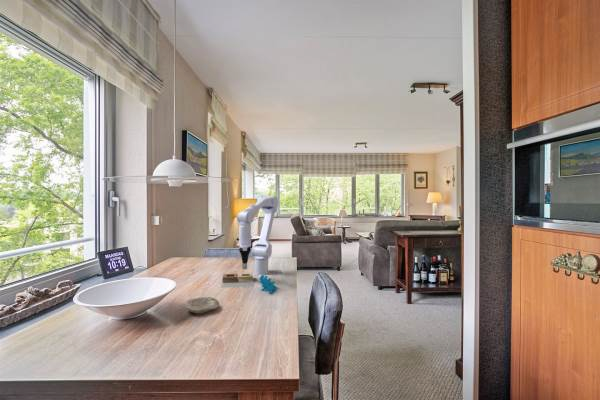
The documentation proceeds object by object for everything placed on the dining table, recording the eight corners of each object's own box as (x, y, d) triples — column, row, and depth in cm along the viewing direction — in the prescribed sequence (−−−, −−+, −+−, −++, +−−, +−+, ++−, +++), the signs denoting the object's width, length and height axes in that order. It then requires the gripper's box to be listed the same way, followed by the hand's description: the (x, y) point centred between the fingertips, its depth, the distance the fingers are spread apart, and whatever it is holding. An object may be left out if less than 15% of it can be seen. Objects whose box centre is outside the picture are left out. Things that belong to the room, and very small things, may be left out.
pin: (242, 268, 150) (242, 252, 150) (246, 268, 150) (246, 252, 150) (242, 269, 147) (242, 253, 147) (247, 269, 148) (247, 253, 148)
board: (223, 279, 153) (223, 278, 153) (253, 278, 156) (253, 277, 156) (221, 289, 137) (221, 287, 137) (254, 287, 140) (254, 286, 140)
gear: (270, 293, 126) (257, 274, 130) (261, 302, 127) (248, 283, 131) (282, 290, 136) (270, 272, 140) (273, 298, 137) (261, 280, 141)
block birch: (238, 278, 153) (238, 273, 153) (252, 277, 154) (252, 273, 154) (238, 282, 146) (238, 277, 146) (252, 281, 147) (252, 276, 147)
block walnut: (223, 278, 152) (223, 274, 152) (237, 278, 153) (237, 273, 153) (222, 282, 145) (222, 277, 145) (237, 282, 146) (237, 277, 146)
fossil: (223, 313, 111) (224, 305, 111) (189, 319, 104) (190, 311, 104) (213, 302, 120) (214, 295, 120) (181, 307, 113) (182, 299, 113)
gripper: (237, 233, 155) (237, 259, 155) (236, 237, 141) (236, 266, 141) (251, 233, 156) (250, 259, 157) (251, 237, 142) (251, 265, 142)
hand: (244, 262), depth 149 cm, fingers closed on pin, 2 cm apart
